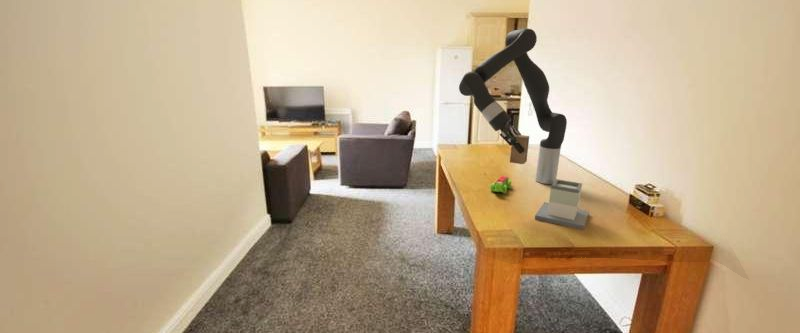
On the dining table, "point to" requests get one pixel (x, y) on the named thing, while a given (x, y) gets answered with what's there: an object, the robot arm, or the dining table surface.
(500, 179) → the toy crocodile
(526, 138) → the walnut brick
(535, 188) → the dining table surface
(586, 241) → the dining table surface
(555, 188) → the tower
